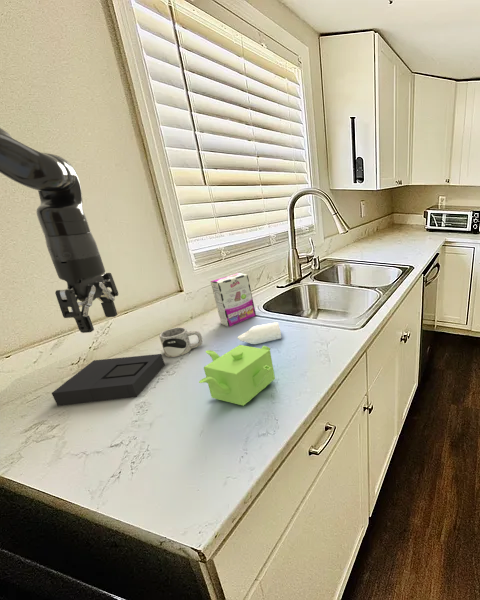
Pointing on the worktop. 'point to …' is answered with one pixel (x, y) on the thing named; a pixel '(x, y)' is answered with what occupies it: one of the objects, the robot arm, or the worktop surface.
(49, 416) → the worktop surface
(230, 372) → the kettle
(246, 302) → the candy bar box
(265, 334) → the white tapered cylinder
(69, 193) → the robot arm
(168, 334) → the mug
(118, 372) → the small pad
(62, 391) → the base pad
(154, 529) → the worktop surface
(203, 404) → the worktop surface
